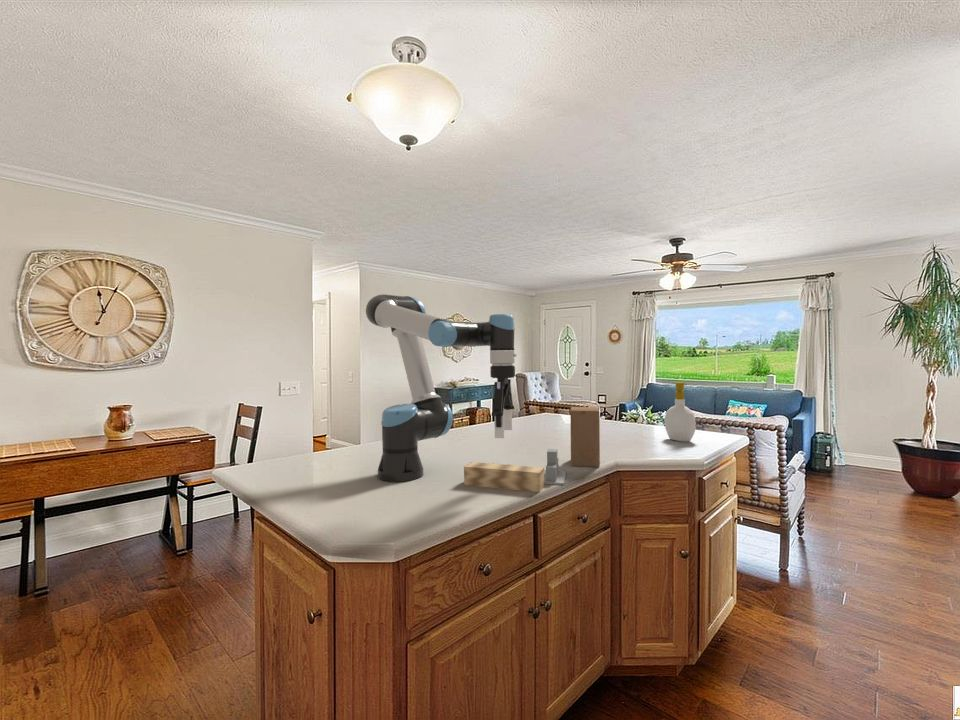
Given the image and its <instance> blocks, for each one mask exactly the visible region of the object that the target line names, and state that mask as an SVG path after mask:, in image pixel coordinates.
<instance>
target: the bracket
mask: <svg viewBox="0 0 960 720" xmlns="http://www.w3.org/2000/svg"><path fill="white" fill-rule="evenodd" d="M566 476H567V471H566V470H559V458H558V448H547V451H546V465H545V469H544V485H556V486H557V485H558V486H559V485H560V486H564V485H565V481H566Z"/></svg>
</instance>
